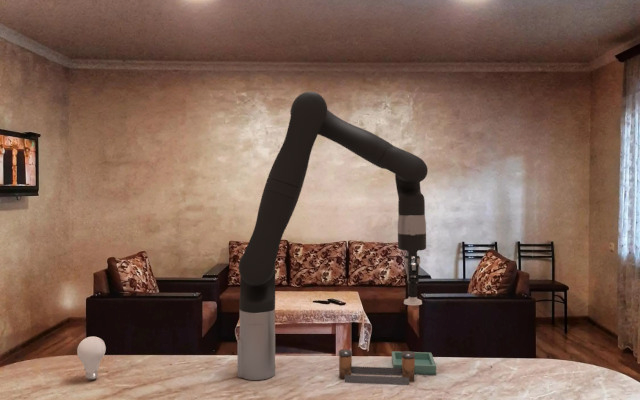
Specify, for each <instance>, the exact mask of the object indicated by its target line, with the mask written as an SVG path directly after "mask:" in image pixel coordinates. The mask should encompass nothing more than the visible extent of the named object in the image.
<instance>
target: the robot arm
mask: <svg viewBox="0 0 640 400" xmlns="http://www.w3.org/2000/svg"><path fill="white" fill-rule="evenodd" d="M286 130H287V131H286V134H285V138H284V141H283V143H282V145H281V148H280V150H279V152H278V154H277V155H276V157H275V158H274V161H273V164H272V166H271V169H270V171H269V173H268V176H267V178H266V182H265V185H264V188H263V191H262V195H261V198H260V202H259V206H258V211H257V216H256V221H255V224H254V228H253V230H252V231H253V232H252V234H251V237H250V238H249V241H248V244H247V246H246V248H245V250H244V252H243V253H242V256H241V257H240V259H239V263H238V271H239V272H238V273H239V275H240V277H239V278H240V282H239V283H240V286H239V288H240V289H239V290H240V291H239V302H238V303H239V337H238V340H237V343H236V344H237V347H236V348H237V349H236V350H237V355H236V356H237V378H242V379H245V380H248V381H262V380H267V379H271V378H272V377H274V376H275V374H276V264H277V263H276V262H277V257H278V252H279V248H280V246H281V245H280V244H281V241H282V238H283V236H284V232H285V230H286V229H287V228H288V227H287V226H288V224H289V223H290V220H291V217H292V216H293V214H294V212H295V209H296V207H297V204H298V201H299V198H300V195H301V193H302V189H303V186H304V183H305V178H306V175H307V171H308V167H309V162H310V157H311V153H312V150H313V148H314V145H315V142H316V139H317V137H318V136H321V137H323V138H326V139H328V140H330V141H332V142H334V143H336V144H339V145H340V146H341V147H343V148H346V150H348V151H350V152H351V153H353V154H355V155H357V156H358V157H360V158H362V159H363V160H365V161H367V162H369V163H371V164H372V165H374V166H375V167H377V168H380V169H384V170H387V171H389V172H391V173H393V174H394V176H395V177H394V178H395V179H394V180H395V186H396V193H397V198H398V203H397V209H398V210H397V211H398V216H397V218H398V219H397V248H398V250H400V251H406V253H407V254H406V255H404V264H405V273H406V280H407V294H408V298H409V297H417V298H418V283H419V274H420V264H421V257H420V255H418V251H425V250H426V249H427V222H426V215H425V214H426V206H425V205H426V204H425V203H426V202H425V200H426V199H425V196H424V194H423V193H422V191H421V182H422V181H424V180H425V179H426V177H427V175H428V165H427V164H426V162H425V161H424V160H423V159H422V158H421V157H420V156H417V155H415V154H414V153H411V152H409V151H408V150H407V151H406V150H404V149H402V148H399V147H397V146H395V145H393V144H392V143H390V142H389V141H387V140H386V139H384V138H382V137H380V136H379V135H377V134H374V133H373V132H371V131H369V130H367V129H365V128H362V127H359V126H357V125H354V124H351V123H349V122H347V121H345V120H344V119H342V118H340V117H338V116H336V115H335V114H334V113H333V112H331V111H330V110H329V109H328V104H327V102H326V100H325V99H324V97H323V96H322V95H321V94H320V93H319V92H316V91H306V92H303V93H301V94H299V95H298V96H297V97H296V98H295V99H294V100H293V102H292V105H291V107H290V118H289V122H288V127H287V129H286ZM411 276H416V277H411Z"/></svg>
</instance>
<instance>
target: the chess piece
mask: <svg viewBox="0 0 640 400" xmlns="http://www.w3.org/2000/svg"><path fill="white" fill-rule="evenodd" d="M411 277H416V276H411ZM403 304H404V305H407V306H420V305H423V300H422V299H419V298H418V296H417V297H409V296H408V298H405V299H404V300H403Z"/></svg>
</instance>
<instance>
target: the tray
mask: <svg viewBox="0 0 640 400" xmlns="http://www.w3.org/2000/svg"><path fill="white" fill-rule="evenodd" d="M402 352H403V351H391V363H392V368H402ZM413 352H414V353H415V375H417V374H418V375H420V376H421V375H423V376H437V365H436V362H435V358H434V356H433V354H432V352H426V351H424V352H421V351H418V352H417V351H413Z"/></svg>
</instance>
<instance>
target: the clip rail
mask: <svg viewBox="0 0 640 400" xmlns="http://www.w3.org/2000/svg"><path fill="white" fill-rule="evenodd" d="M401 352H402V368H393V367H389V366H388V367H385V366H384V367H383V366H357V365H356V366H355V365H352V364H353V363H352V361H353V358H352V357H353V350H351V349H347V348H344V349H340V350H338V358H339V359H338V365H339V366H338V378H339V379H340V380H343V381H344V383H349V384H350V383H351V384H352V383H353V384H375V385H377V384H380V385H382V384H383V385H401V386H403V385H404V386H405V385H406V386H408V385H410V383H413V382H415V375H416V374H415V353H414V352H415V351H409V350H404V351H401Z"/></svg>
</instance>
